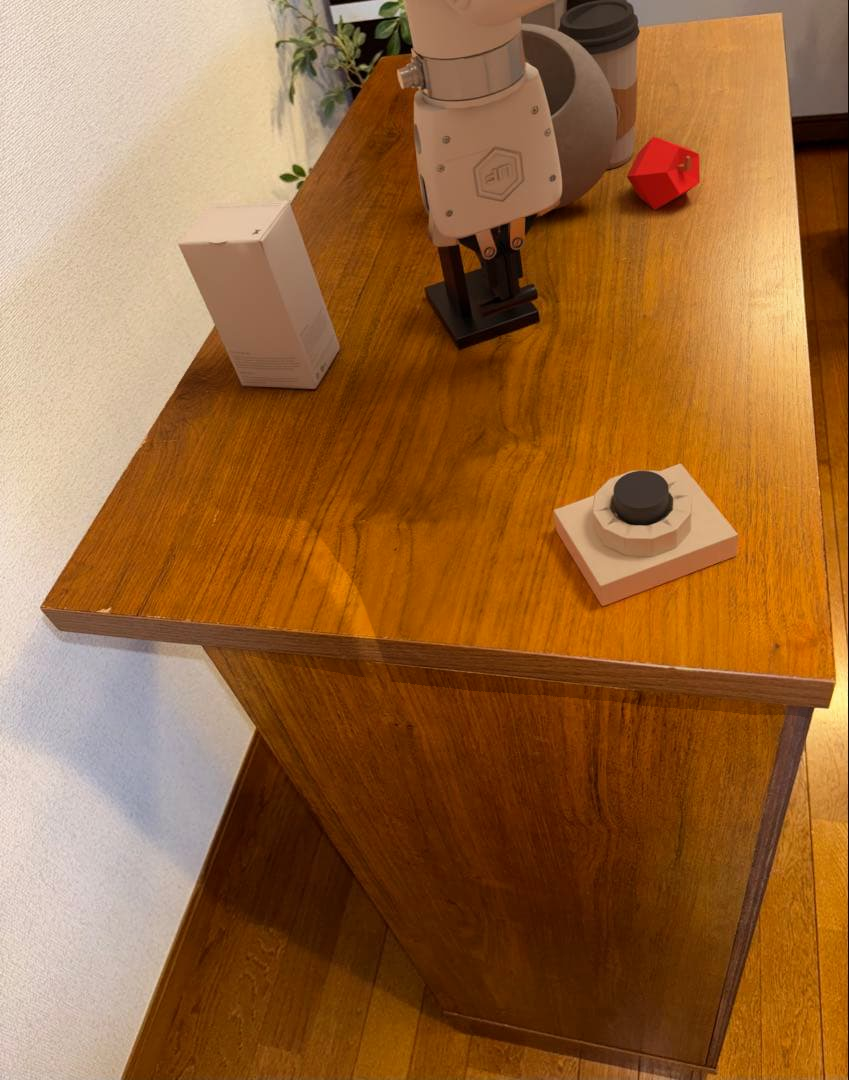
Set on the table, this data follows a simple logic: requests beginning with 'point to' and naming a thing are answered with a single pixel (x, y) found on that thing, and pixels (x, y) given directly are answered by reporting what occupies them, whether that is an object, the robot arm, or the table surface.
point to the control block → (644, 538)
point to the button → (641, 498)
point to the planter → (574, 107)
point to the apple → (663, 172)
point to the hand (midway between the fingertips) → (504, 289)
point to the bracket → (471, 302)
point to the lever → (506, 300)
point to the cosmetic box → (262, 293)
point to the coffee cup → (611, 59)
